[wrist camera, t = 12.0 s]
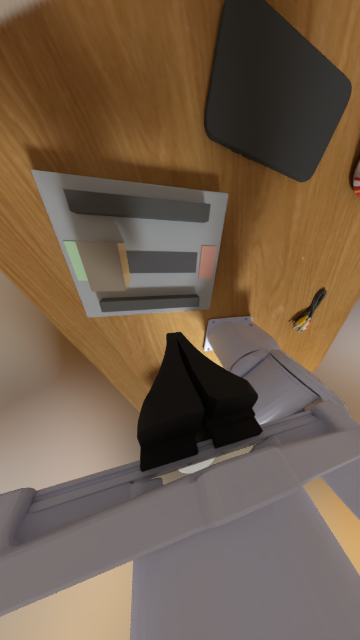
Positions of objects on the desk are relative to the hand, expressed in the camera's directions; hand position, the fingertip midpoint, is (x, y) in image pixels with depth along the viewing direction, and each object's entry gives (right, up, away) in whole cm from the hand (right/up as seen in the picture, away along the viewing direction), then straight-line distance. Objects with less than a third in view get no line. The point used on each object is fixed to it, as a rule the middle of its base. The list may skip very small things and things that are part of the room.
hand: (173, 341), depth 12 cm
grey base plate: (-4, +10, +5) cm, 12 cm away
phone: (+10, +23, +1) cm, 26 cm away
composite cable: (+30, +4, +18) cm, 35 cm away
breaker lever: (-7, +9, +3) cm, 12 cm away
